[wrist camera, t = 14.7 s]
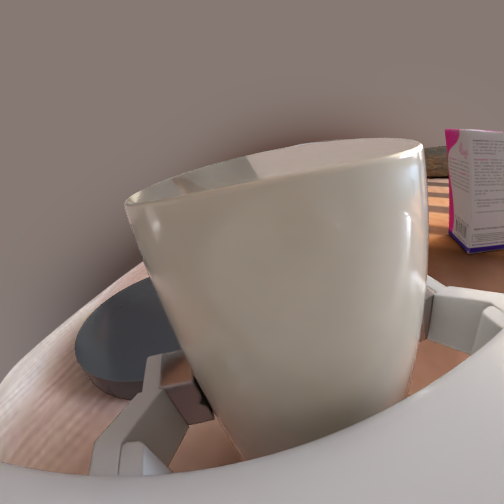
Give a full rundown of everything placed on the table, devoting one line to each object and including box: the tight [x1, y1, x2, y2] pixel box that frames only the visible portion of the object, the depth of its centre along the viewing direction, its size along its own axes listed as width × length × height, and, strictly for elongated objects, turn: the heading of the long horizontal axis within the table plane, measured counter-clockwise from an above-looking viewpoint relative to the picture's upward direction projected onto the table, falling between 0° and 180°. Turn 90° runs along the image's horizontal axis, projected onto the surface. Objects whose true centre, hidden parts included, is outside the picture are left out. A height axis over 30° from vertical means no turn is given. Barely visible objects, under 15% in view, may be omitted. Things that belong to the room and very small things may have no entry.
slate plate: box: [75, 277, 181, 399], centre depth 22 cm, size 16×16×2 cm
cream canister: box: [124, 138, 429, 461], centre depth 8 cm, size 6×6×12 cm
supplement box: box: [445, 129, 504, 254], centre depth 21 cm, size 6×6×12 cm
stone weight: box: [424, 146, 449, 177], centre depth 48 cm, size 15×7×7 cm, turn 73°
